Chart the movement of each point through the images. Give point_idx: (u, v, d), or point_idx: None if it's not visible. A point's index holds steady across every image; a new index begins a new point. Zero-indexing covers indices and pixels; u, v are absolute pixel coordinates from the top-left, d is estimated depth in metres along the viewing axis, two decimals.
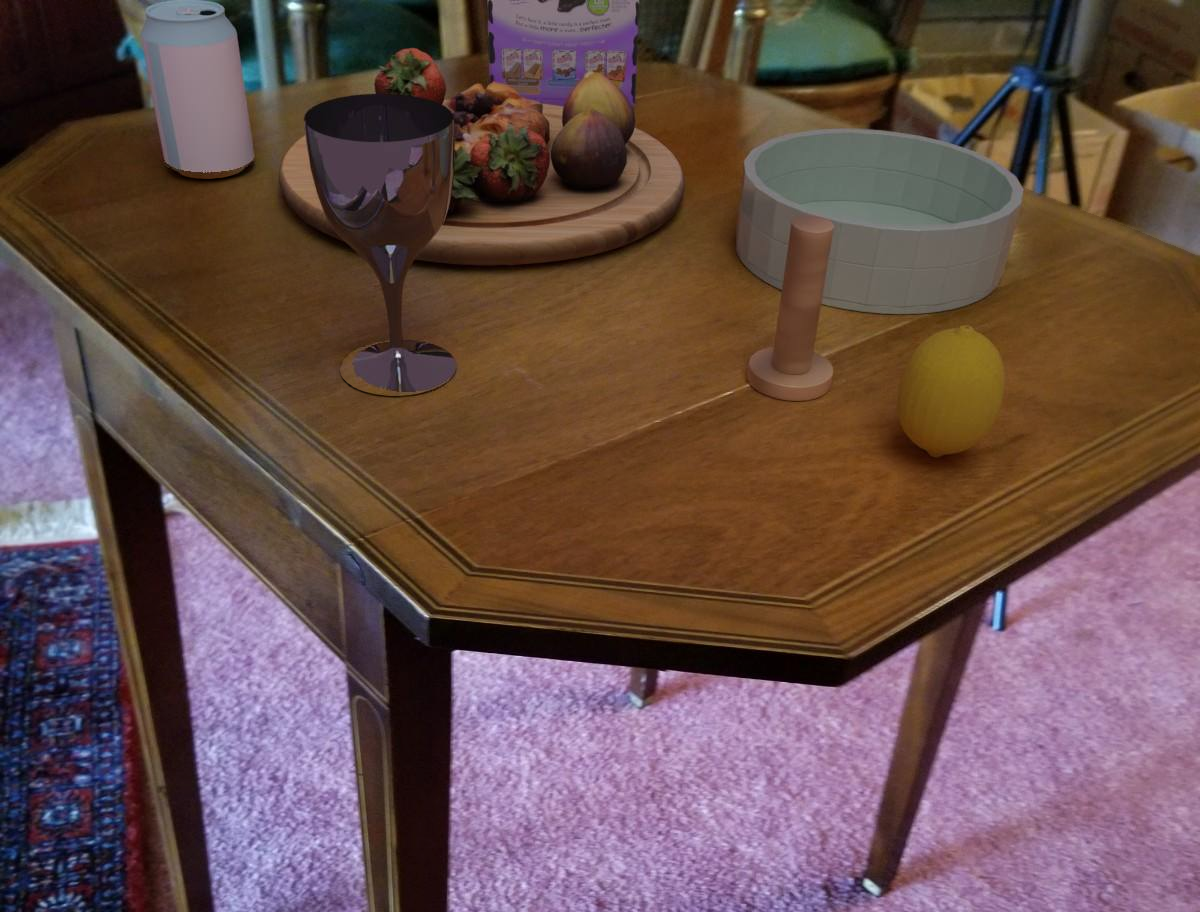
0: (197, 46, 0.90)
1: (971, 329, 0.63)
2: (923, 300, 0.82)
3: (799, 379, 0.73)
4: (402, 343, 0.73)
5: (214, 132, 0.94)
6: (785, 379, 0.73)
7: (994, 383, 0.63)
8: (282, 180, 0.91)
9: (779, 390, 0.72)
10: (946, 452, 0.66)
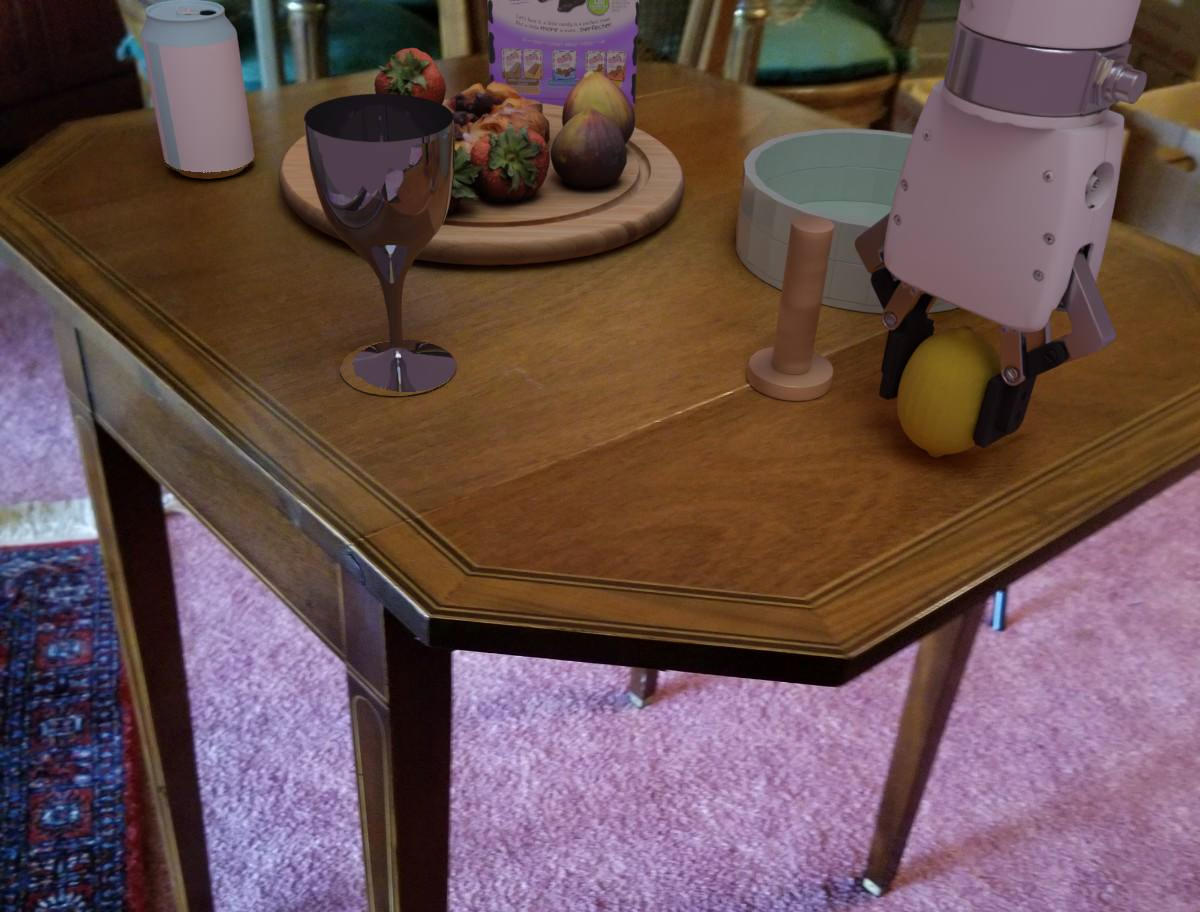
0: (197, 46, 0.90)
1: (971, 330, 0.63)
2: None
3: (799, 379, 0.73)
4: (402, 343, 0.73)
5: (214, 132, 0.94)
6: (785, 379, 0.73)
7: None
8: (282, 180, 0.91)
9: (779, 390, 0.72)
10: (946, 452, 0.66)
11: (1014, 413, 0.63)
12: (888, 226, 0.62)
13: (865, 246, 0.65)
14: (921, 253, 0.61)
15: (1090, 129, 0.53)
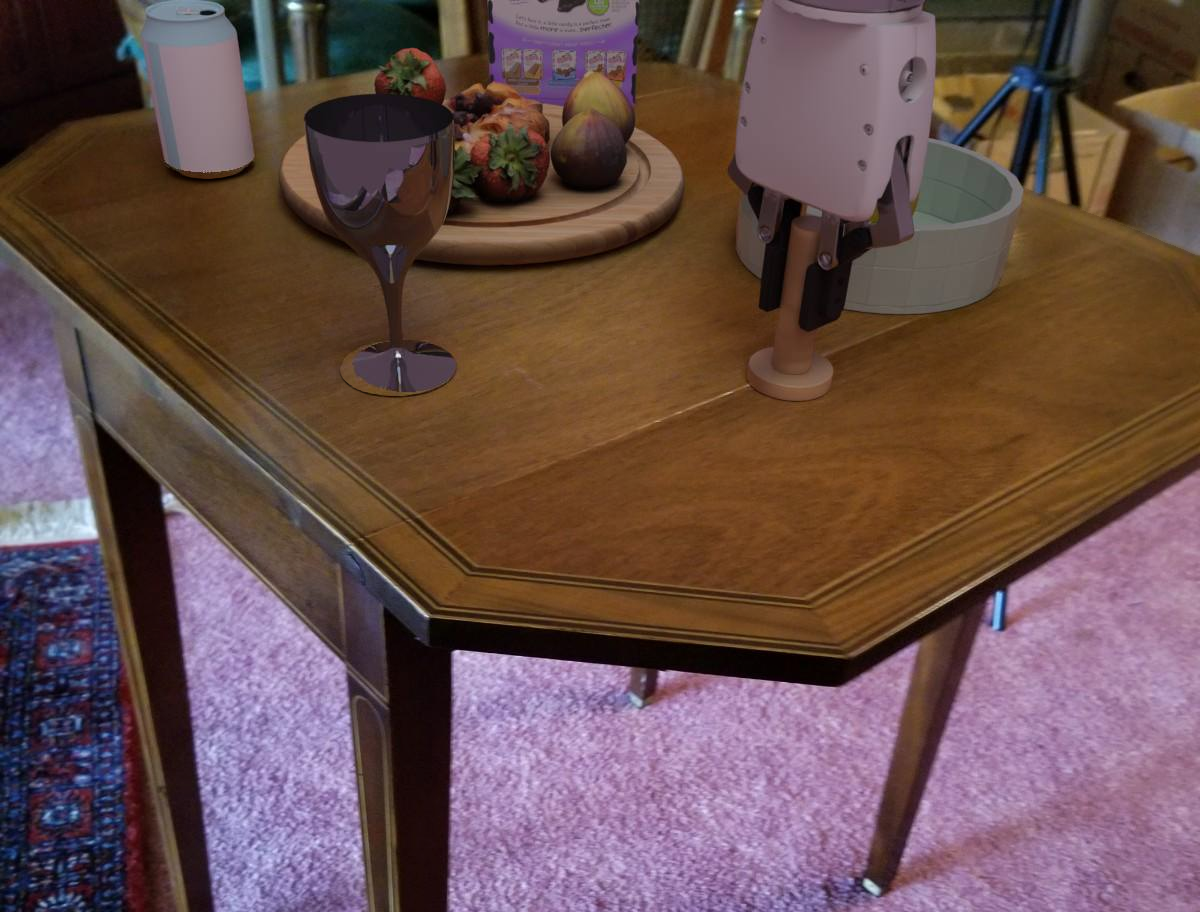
0: (197, 46, 0.90)
1: None
2: (923, 300, 0.82)
3: (799, 379, 0.73)
4: (402, 343, 0.73)
5: (214, 132, 0.94)
6: (785, 379, 0.73)
7: None
8: (282, 180, 0.91)
9: (779, 390, 0.72)
10: None
11: (833, 298, 0.69)
12: (737, 128, 0.67)
13: (736, 171, 0.70)
14: (765, 151, 0.66)
15: (899, 25, 0.58)
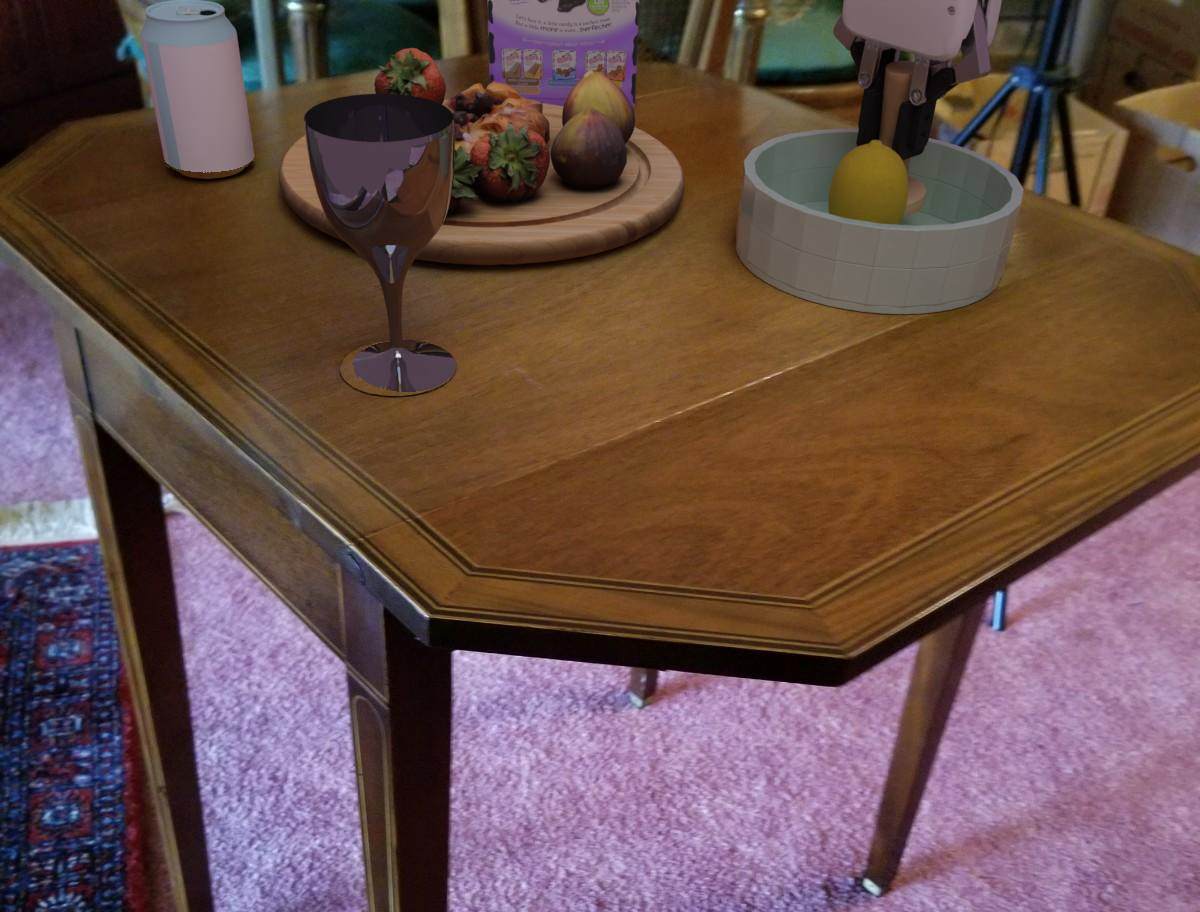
0: (197, 46, 0.90)
1: (879, 142, 0.83)
2: (923, 300, 0.82)
3: None
4: (402, 343, 0.73)
5: (214, 132, 0.94)
6: None
7: (899, 181, 0.84)
8: (282, 180, 0.91)
9: None
10: None
11: (920, 131, 0.85)
12: None
13: (841, 30, 0.86)
14: (869, 7, 0.82)
15: None
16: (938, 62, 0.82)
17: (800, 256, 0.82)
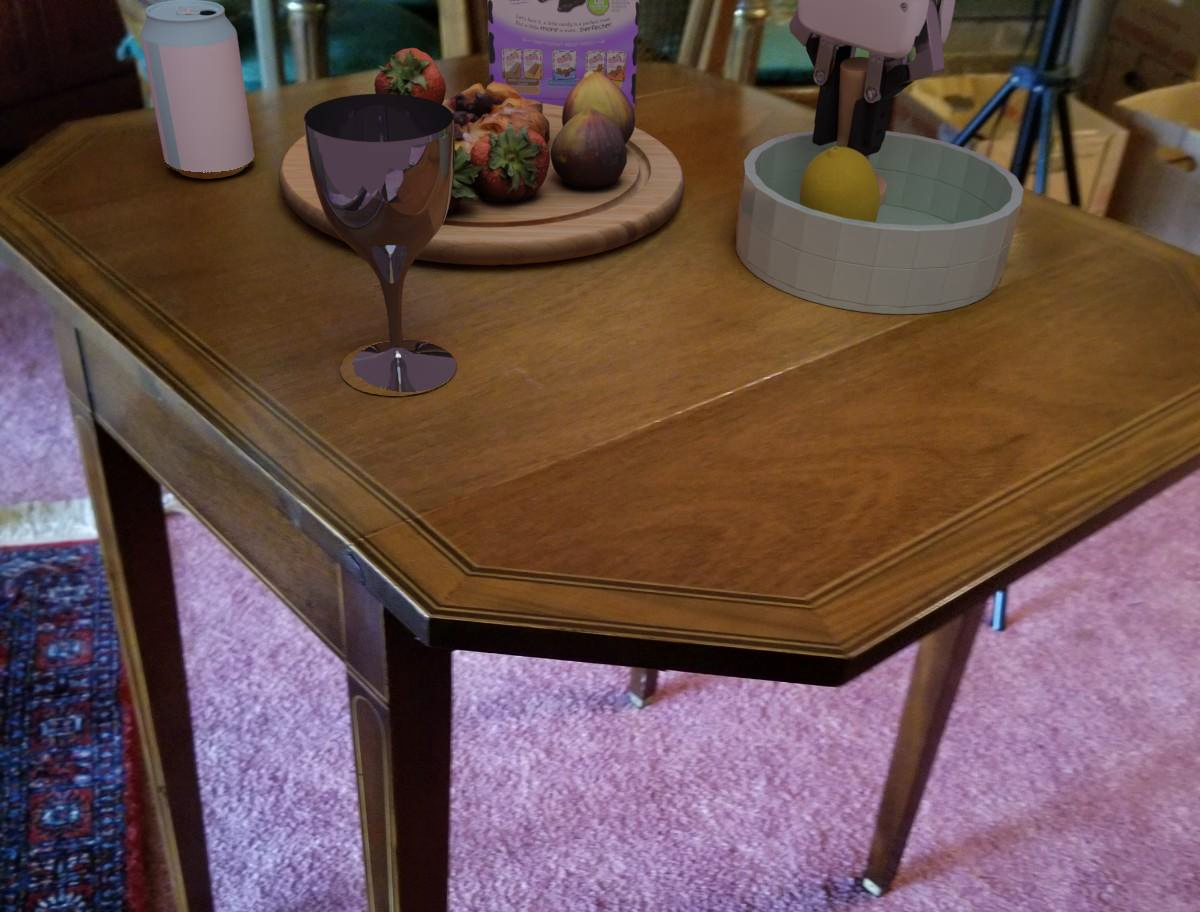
0: (197, 46, 0.90)
1: (838, 148, 0.82)
2: (923, 300, 0.82)
3: None
4: (402, 343, 0.73)
5: (214, 132, 0.94)
6: None
7: (870, 179, 0.83)
8: (282, 180, 0.91)
9: None
10: None
11: (875, 129, 0.84)
12: None
13: (796, 26, 0.85)
14: (823, 3, 0.81)
15: None
16: (893, 59, 0.81)
17: (800, 256, 0.82)
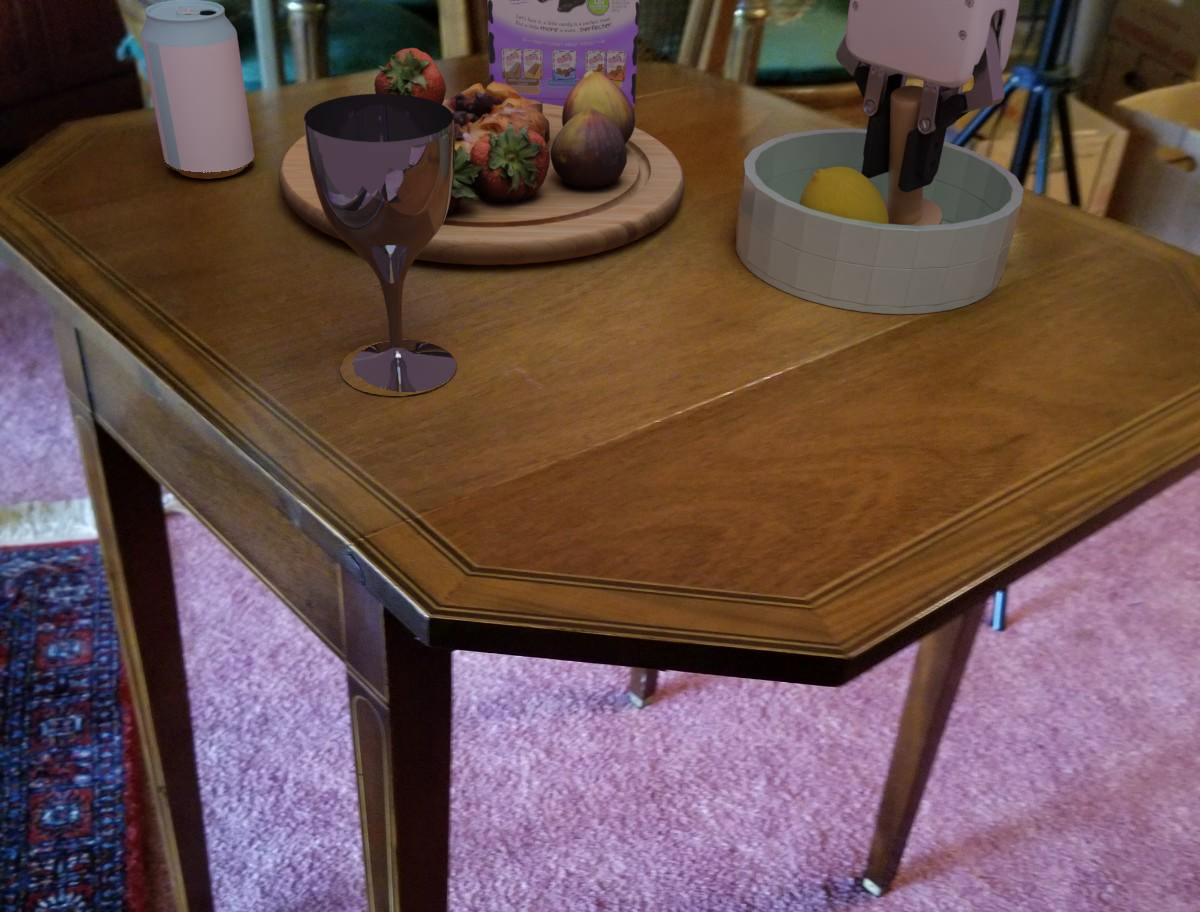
0: (197, 46, 0.90)
1: (819, 173, 0.80)
2: (923, 300, 0.82)
3: None
4: (402, 343, 0.73)
5: (214, 132, 0.94)
6: None
7: (846, 207, 0.80)
8: (282, 180, 0.91)
9: None
10: None
11: (929, 161, 0.80)
12: (848, 13, 0.78)
13: (844, 54, 0.81)
14: (874, 31, 0.77)
15: None
16: (948, 88, 0.77)
17: (800, 256, 0.82)
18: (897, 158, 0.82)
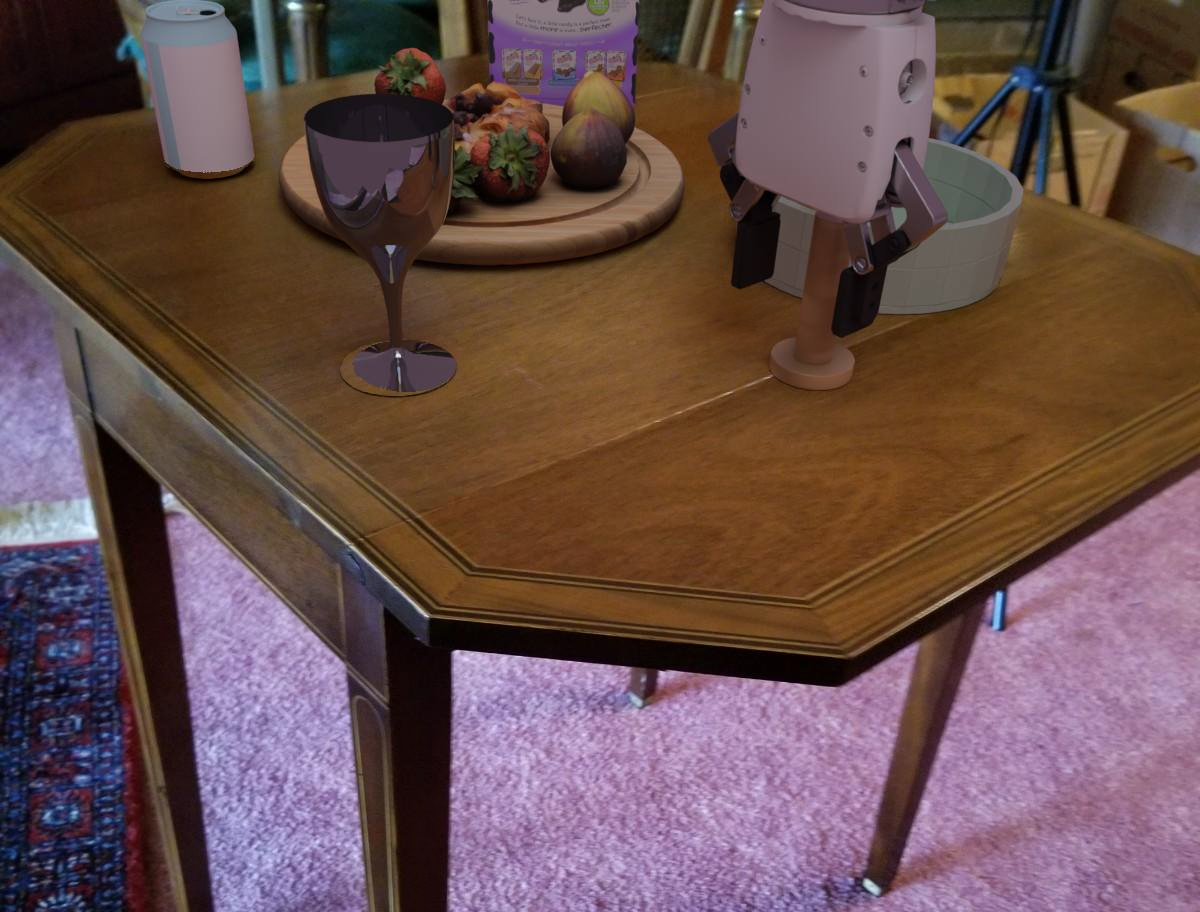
0: (197, 46, 0.90)
1: None
2: (923, 300, 0.82)
3: (828, 368, 0.74)
4: (402, 343, 0.73)
5: (214, 132, 0.94)
6: (815, 369, 0.74)
7: None
8: (282, 180, 0.91)
9: (812, 381, 0.73)
10: None
11: (867, 303, 0.67)
12: (737, 130, 0.67)
13: (717, 141, 0.70)
14: (765, 153, 0.66)
15: (899, 27, 0.58)
16: (873, 217, 0.65)
17: (800, 256, 0.82)
18: (814, 285, 0.71)
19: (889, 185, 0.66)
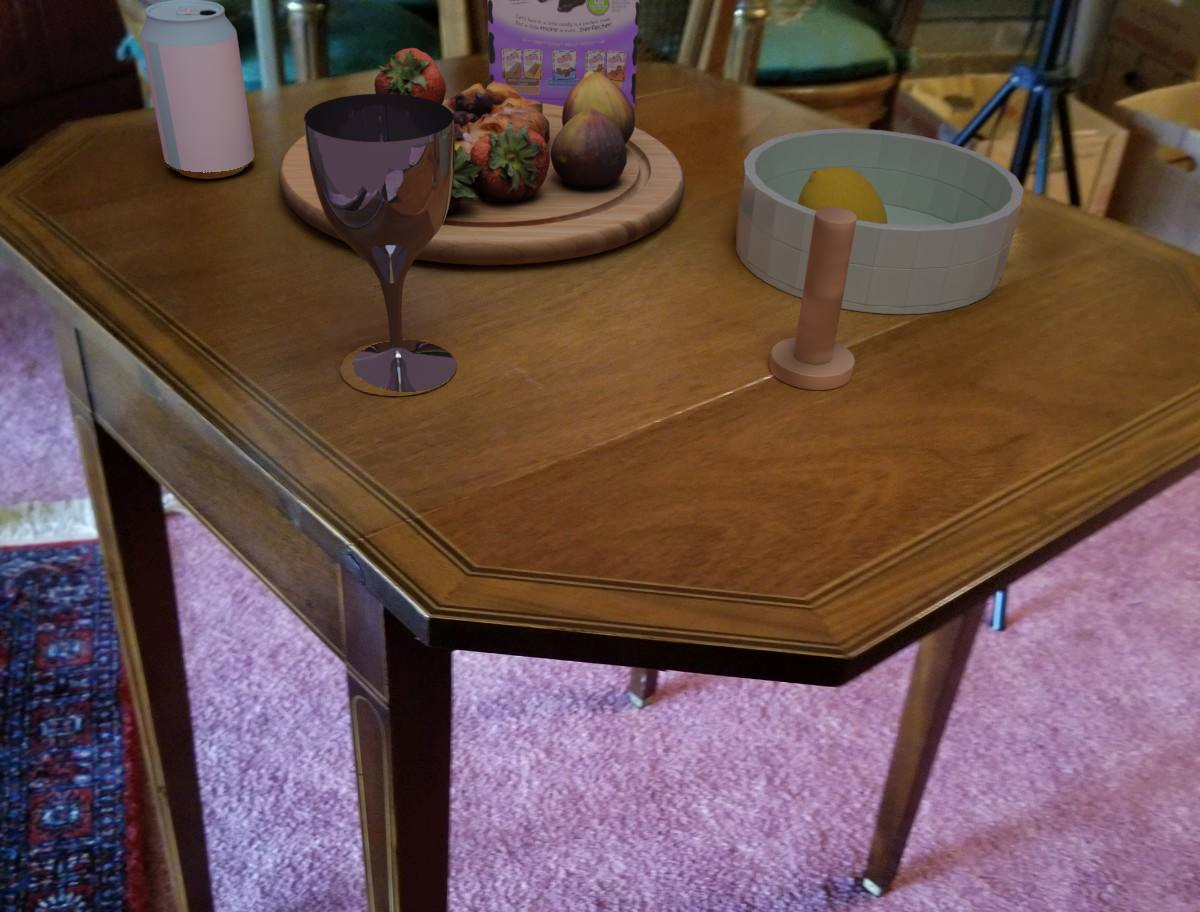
0: (197, 46, 0.90)
1: (816, 173, 0.81)
2: (923, 300, 0.82)
3: (828, 368, 0.74)
4: (402, 343, 0.73)
5: (214, 132, 0.94)
6: (815, 369, 0.74)
7: (843, 206, 0.80)
8: (282, 180, 0.91)
9: (812, 381, 0.73)
10: None
11: None
12: None
13: None
14: None
15: None
16: None
17: (800, 256, 0.82)
18: (814, 285, 0.71)
19: None
